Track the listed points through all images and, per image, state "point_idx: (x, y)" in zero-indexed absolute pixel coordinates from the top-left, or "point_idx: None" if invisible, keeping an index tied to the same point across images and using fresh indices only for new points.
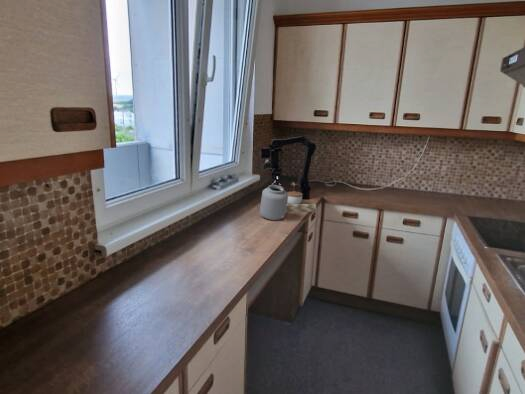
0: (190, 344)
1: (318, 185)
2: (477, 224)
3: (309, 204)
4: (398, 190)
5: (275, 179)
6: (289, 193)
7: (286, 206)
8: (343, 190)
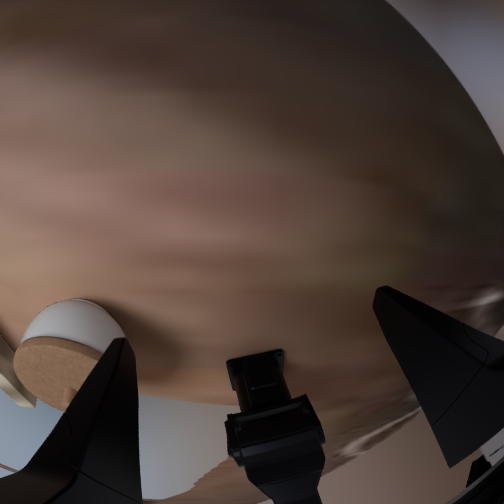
0: None
1: None
2: None
3: (13, 391)
4: (326, 469)
5: (92, 386)
6: (39, 364)
7: None
8: (358, 426)
